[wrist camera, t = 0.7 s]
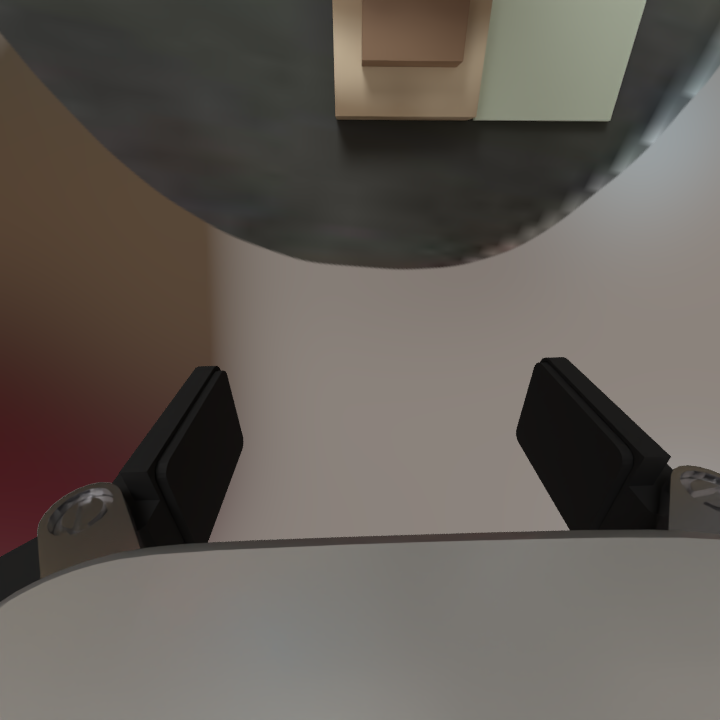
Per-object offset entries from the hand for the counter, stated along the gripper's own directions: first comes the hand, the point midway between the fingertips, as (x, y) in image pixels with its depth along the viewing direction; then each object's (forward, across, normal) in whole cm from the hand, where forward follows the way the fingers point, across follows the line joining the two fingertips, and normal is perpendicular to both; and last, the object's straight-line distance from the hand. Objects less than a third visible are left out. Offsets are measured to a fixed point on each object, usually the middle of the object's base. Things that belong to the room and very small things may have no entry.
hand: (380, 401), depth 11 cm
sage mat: (+27, -16, -16) cm, 35 cm away
